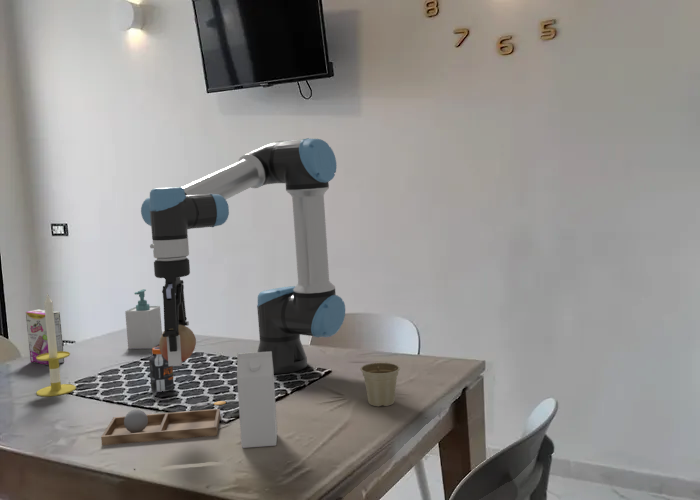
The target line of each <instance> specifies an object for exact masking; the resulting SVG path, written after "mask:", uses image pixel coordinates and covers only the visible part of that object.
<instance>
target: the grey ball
mask: <svg viewBox="0 0 700 500" xmlns="http://www.w3.org/2000/svg"><path fill="white" fill-rule="evenodd" d="M147 415H148V414H146V412H145V411H144V410H142V409H133V410H130V411H129V412H128V413H127V414H126V415H125V419H124V425H125V428H126V429H127V430H128V431H130V432H132V433H139V432H141V431H143V430H144V429H145V428H146V426H147V423H148V418H147Z"/></svg>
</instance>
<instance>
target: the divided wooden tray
mask: <svg viewBox="0 0 700 500" xmlns="http://www.w3.org/2000/svg"><path fill="white" fill-rule="evenodd" d="M146 415H147V418H148V423H147V426H146V428H145V429H144V430H143V431H141V432H139V433H132V432H130V431H128V430H127V429H126V428H125V425H124V419H125V416H126V415H125V416H123V415H122V416H113V417H112V419H111V421H110V422H109V424H107V427H106V428H105V430H104V432H103V433H102V435H101V437H100V439H101V445H102V446H109V445H122V444H131V443H133V444H134V443H145V442H155V441H167V440H179V439H191V438H201V437H202V438H203V437H216V436H217V435H218V431H219V426H220V421H221V409H220V408H211V409H200V410H198V409H197V410H186V411H175V412H173V411H172V412H164V413H161V412H160V413H151V414H150V413H149V414H146Z"/></svg>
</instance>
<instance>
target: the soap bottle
mask: <svg viewBox="0 0 700 500" xmlns="http://www.w3.org/2000/svg"><path fill="white" fill-rule="evenodd" d="M146 291H147V289H140V290H139V291H135V292H133V293H134V295H138V297H139V300H137V304H136V305H135V307H133V308H129V309H127V310H125V312H124V314H125V325H126V337H127V340H126V341H127V348H128V350H129V349H130V350H133V349H134V350H135V349H137V350H139V349H140V350H143V349H144V350H147V349H149V350H152V348H154V347H158V346H159V342H160V338H161V336H162V334H163V330H162V329H163V328H162V318H161V317H162V316H161V315H162V314H161V306H160V305H150V304H149V303H148V300H147V299H145V295H146V294H145V292H146Z"/></svg>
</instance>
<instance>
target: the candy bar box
mask: <svg viewBox="0 0 700 500" xmlns="http://www.w3.org/2000/svg"><path fill="white" fill-rule="evenodd" d="M53 311H54V310H53ZM25 318H26V319H25V321H26V330H27V337H28V340H27V341H28V350H29V358H30V362H31V363H34V364H40V365H45V366H49V361H40V360H37V359H36V357H37V356H39V355H41V354H45V353H49V351H48V340H47V329H46V318H45V309H39V308H38V309H33V310H28V311H25ZM54 322H55V333H56V344H57V352H58V351H64V345H63V344H64V343H63V334H62V332H63V331H62V324H61V323H62V322H61V313H60V311H54ZM63 363H65V358H62V359H59V365H60V364H63Z"/></svg>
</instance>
